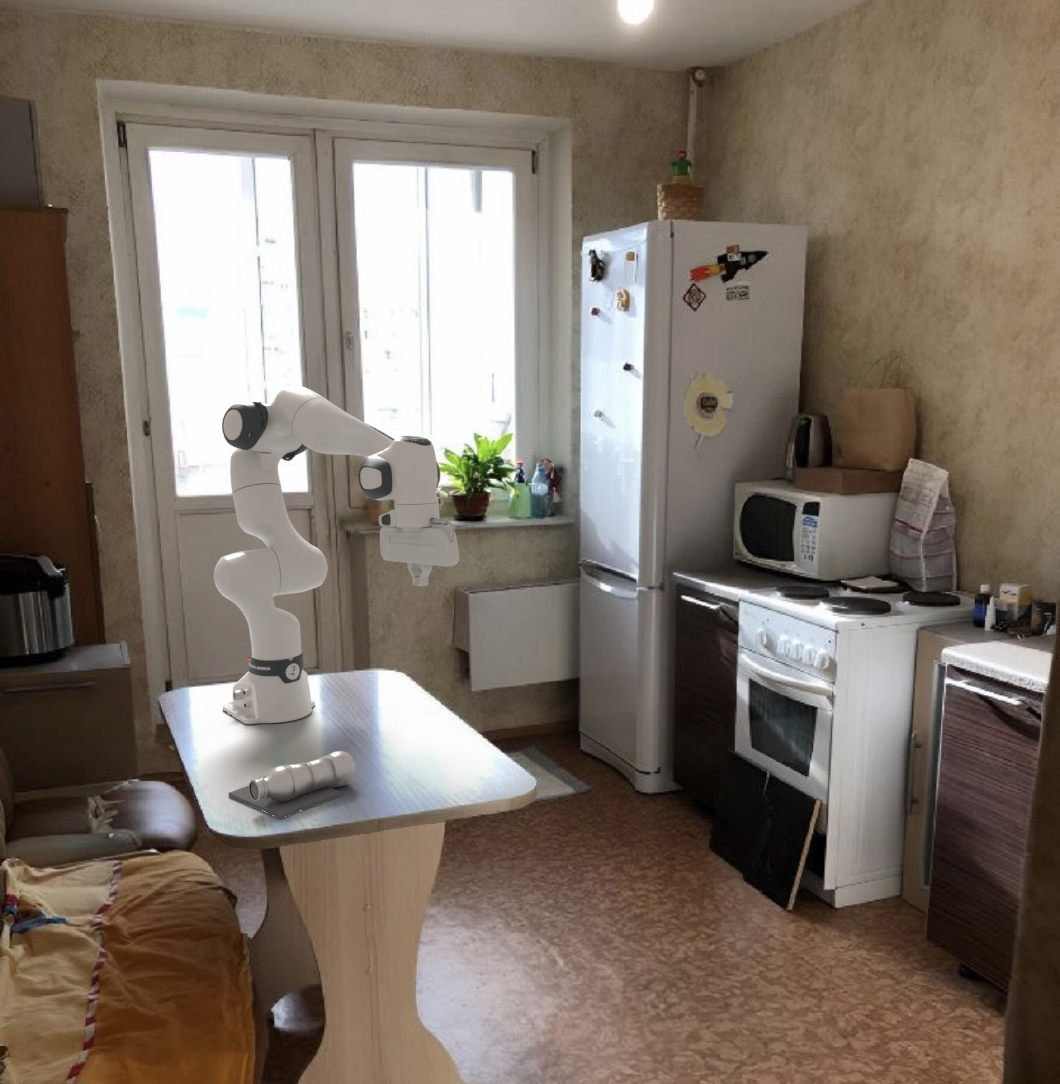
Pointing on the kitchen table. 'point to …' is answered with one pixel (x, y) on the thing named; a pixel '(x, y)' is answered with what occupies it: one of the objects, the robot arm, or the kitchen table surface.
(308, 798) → the mat
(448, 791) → the kitchen table surface
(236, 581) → the robot arm
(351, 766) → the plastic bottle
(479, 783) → the kitchen table surface
